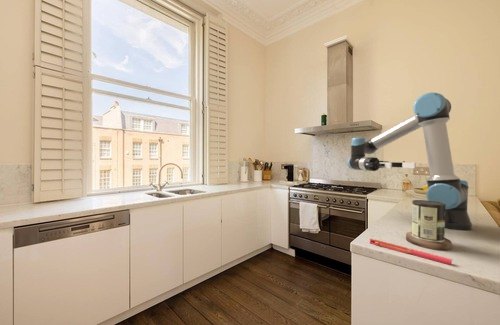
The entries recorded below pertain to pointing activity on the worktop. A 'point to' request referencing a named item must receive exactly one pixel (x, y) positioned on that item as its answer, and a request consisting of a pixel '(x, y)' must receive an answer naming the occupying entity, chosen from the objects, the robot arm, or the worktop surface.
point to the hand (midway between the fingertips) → (403, 165)
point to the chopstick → (412, 251)
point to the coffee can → (428, 220)
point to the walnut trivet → (429, 243)
